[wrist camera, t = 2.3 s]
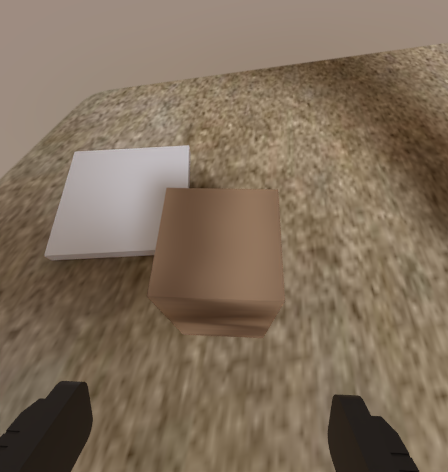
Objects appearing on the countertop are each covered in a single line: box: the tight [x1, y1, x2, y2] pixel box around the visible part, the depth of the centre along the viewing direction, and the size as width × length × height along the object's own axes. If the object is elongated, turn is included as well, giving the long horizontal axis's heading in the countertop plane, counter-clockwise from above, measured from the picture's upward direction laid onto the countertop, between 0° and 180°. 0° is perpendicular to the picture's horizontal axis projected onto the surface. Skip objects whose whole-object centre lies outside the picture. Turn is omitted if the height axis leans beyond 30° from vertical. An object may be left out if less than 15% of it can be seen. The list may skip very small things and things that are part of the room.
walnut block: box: [147, 188, 285, 338], centre depth 18 cm, size 6×6×10 cm
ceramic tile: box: [44, 145, 190, 260], centre depth 27 cm, size 12×12×1 cm
